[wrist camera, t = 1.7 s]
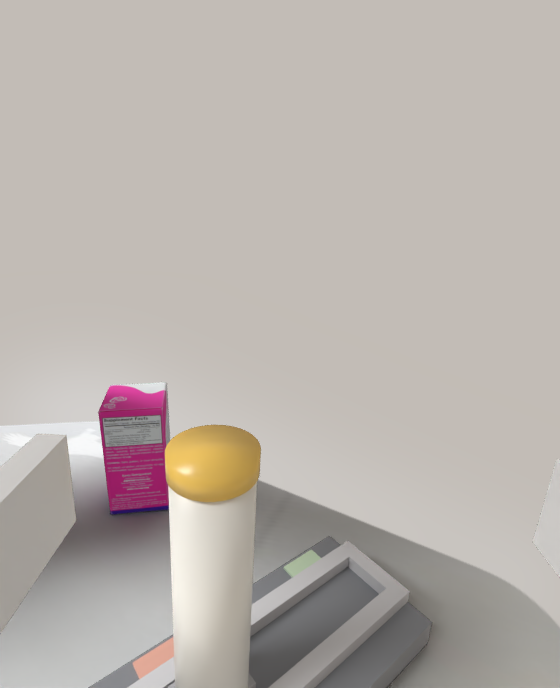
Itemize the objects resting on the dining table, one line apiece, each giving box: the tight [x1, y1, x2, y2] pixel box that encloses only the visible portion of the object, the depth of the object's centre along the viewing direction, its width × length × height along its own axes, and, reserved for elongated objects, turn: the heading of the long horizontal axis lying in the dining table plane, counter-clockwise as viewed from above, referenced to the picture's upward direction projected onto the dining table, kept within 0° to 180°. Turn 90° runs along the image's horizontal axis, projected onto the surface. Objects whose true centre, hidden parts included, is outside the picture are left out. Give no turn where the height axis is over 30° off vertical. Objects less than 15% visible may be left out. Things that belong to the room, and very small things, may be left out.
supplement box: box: [98, 382, 170, 515], centre depth 41 cm, size 6×6×11 cm
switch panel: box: [89, 536, 432, 688], centre depth 27 cm, size 20×10×3 cm, turn 129°
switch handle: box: [165, 425, 261, 688], centre depth 21 cm, size 4×4×16 cm
